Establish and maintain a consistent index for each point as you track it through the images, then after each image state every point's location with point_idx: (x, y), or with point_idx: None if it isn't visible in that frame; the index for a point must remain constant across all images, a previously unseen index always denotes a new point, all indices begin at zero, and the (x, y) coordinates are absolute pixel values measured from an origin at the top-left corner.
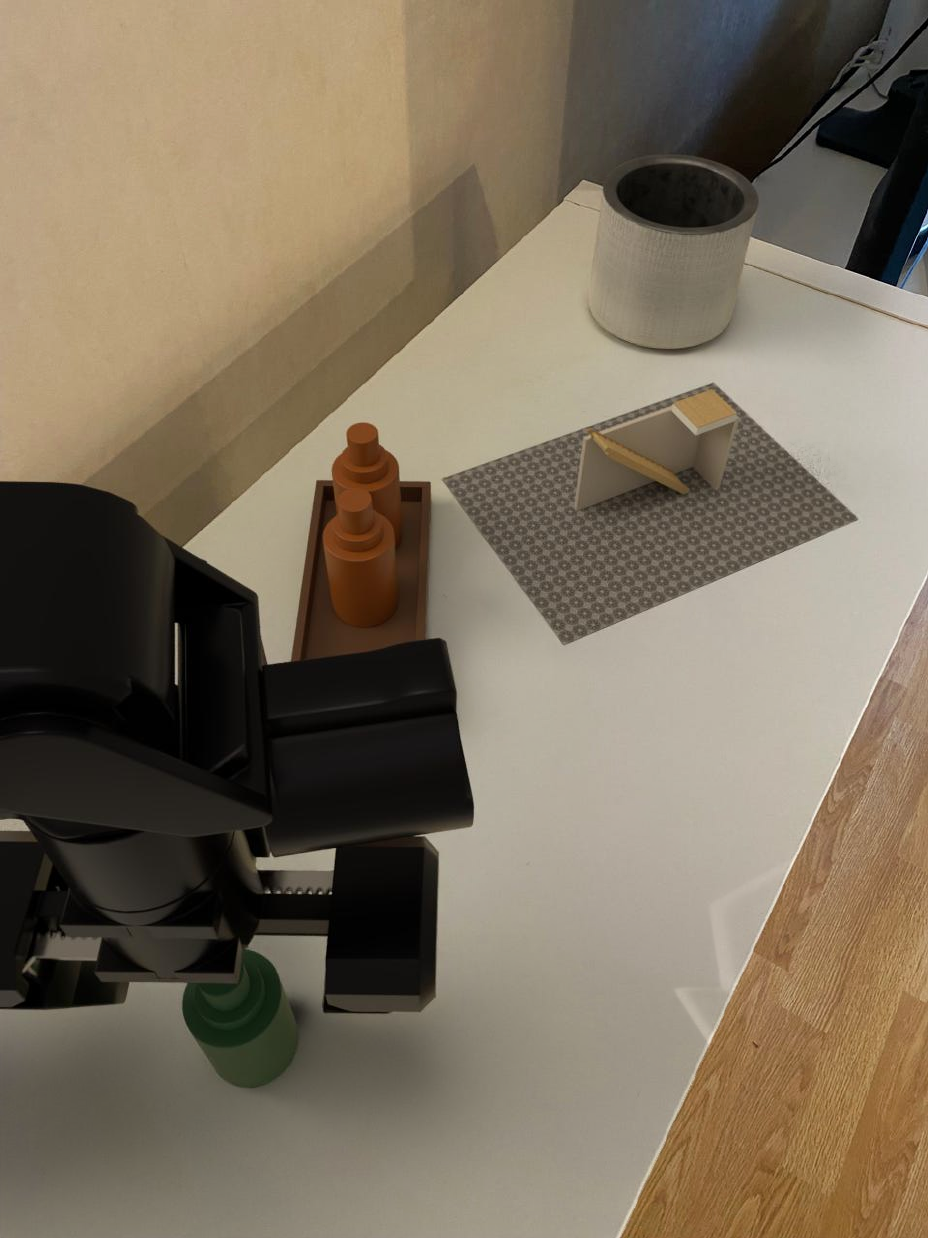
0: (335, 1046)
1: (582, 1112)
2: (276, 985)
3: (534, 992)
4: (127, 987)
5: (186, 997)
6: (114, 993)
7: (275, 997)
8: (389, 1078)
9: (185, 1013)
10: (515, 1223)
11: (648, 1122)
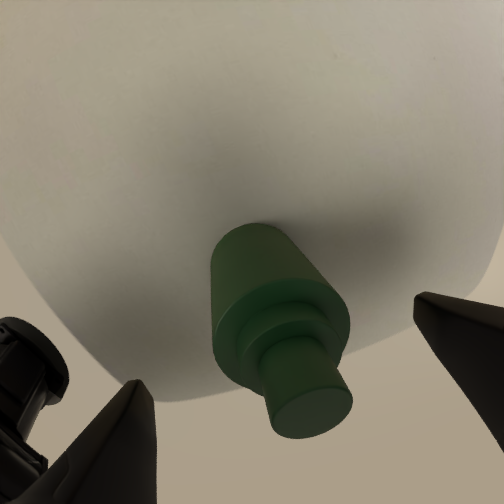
0: (330, 247)
1: (476, 239)
2: (342, 311)
3: (456, 166)
4: (144, 388)
5: (223, 363)
6: (150, 442)
7: (343, 324)
8: (376, 257)
9: (231, 377)
10: None
11: (497, 234)
